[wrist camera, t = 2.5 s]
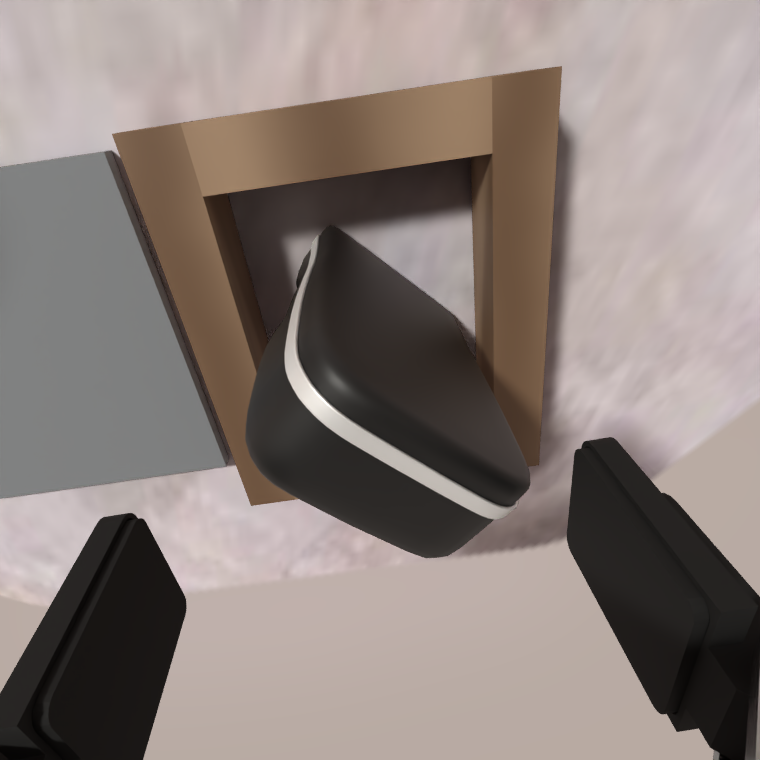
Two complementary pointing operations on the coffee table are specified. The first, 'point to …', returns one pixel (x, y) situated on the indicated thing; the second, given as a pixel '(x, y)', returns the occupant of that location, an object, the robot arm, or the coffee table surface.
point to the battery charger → (381, 408)
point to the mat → (89, 339)
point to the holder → (345, 157)
